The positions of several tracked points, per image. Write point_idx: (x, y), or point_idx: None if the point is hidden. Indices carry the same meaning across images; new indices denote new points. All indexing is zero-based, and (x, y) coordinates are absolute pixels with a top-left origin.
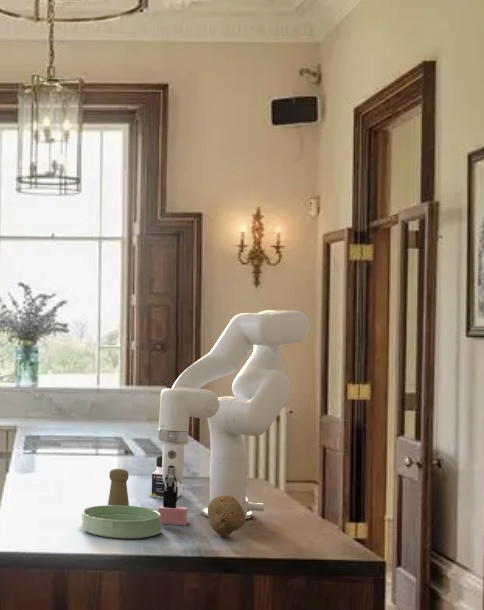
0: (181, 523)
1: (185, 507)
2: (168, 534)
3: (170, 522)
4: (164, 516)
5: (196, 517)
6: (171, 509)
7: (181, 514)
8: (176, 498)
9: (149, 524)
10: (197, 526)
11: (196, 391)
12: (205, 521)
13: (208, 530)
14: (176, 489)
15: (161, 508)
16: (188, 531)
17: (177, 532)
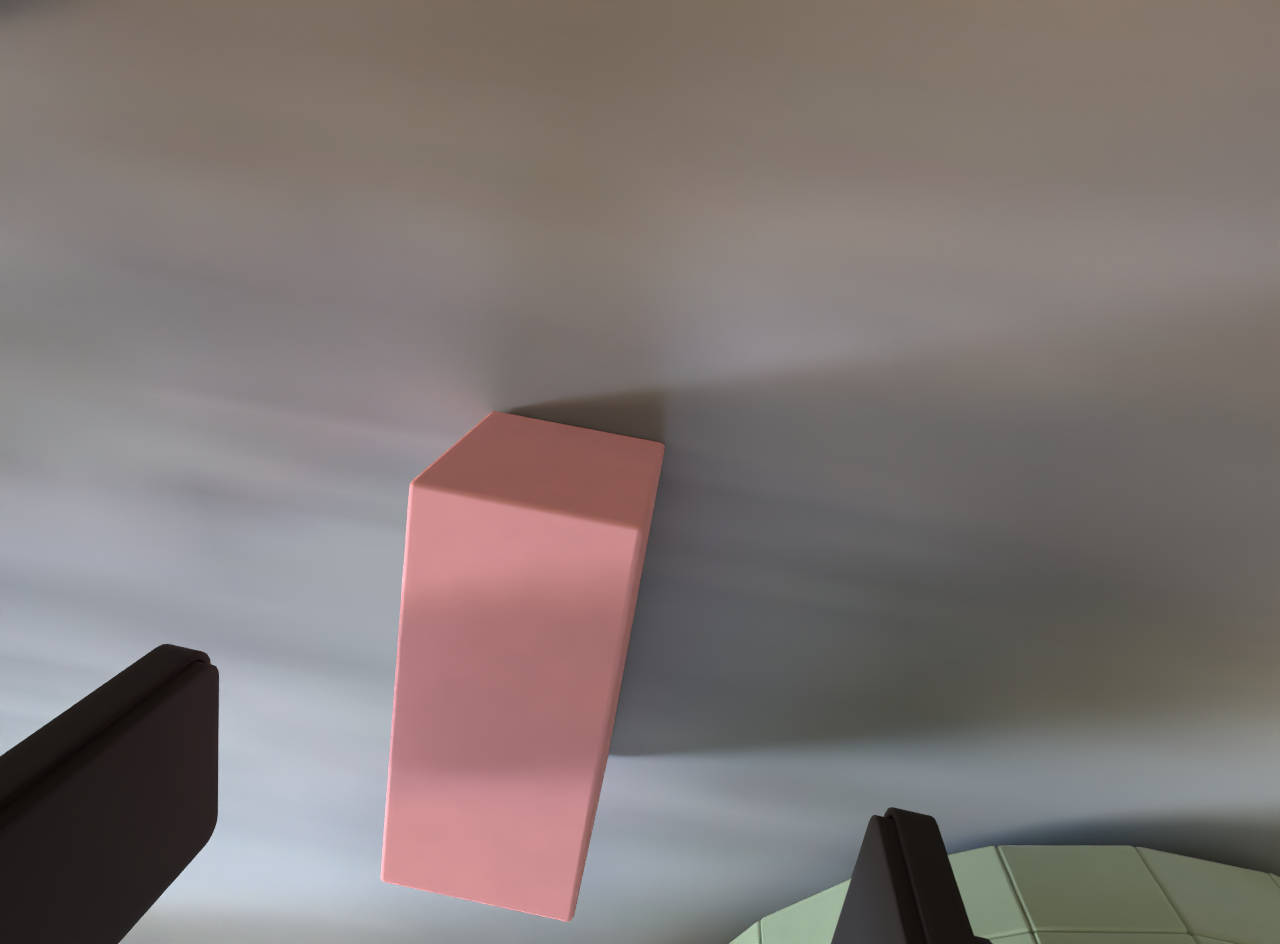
0: (652, 514)
1: (442, 513)
2: (1233, 759)
3: (627, 649)
4: (604, 765)
5: (66, 192)
6: (602, 755)
7: (639, 571)
8: (170, 695)
9: None
10: (711, 289)
11: None
12: (321, 92)
13: (1003, 159)
14: (6, 835)
15: (576, 888)
16: (1063, 482)
17: (1119, 635)
